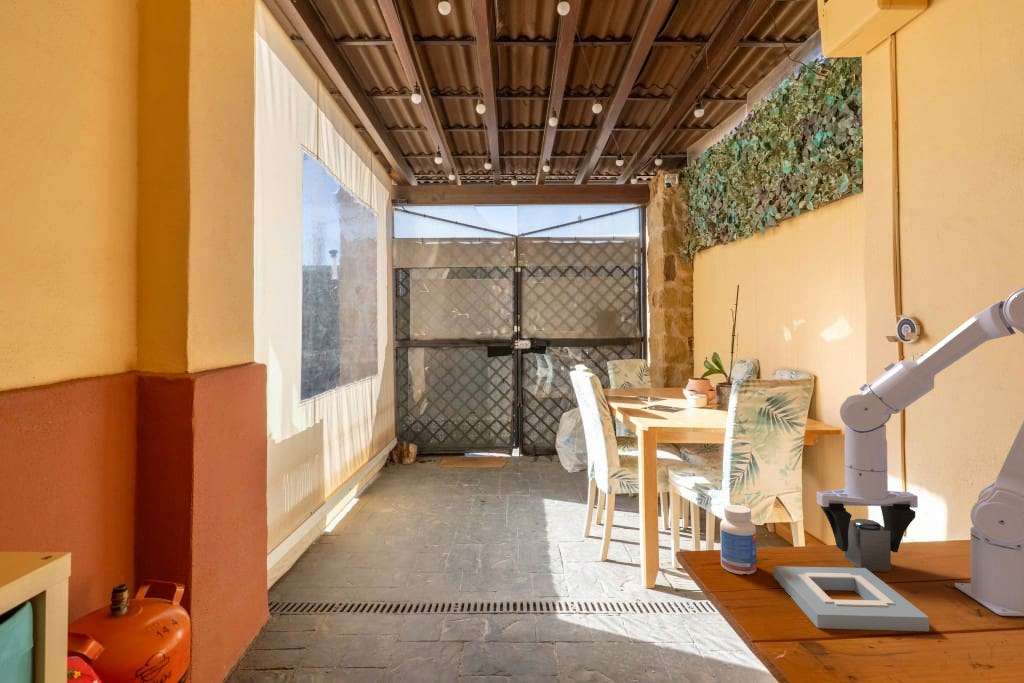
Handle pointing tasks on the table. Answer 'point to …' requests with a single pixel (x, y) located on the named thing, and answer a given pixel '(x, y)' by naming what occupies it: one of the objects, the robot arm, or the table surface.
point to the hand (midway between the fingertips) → (866, 549)
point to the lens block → (869, 545)
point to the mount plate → (869, 614)
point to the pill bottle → (738, 540)
